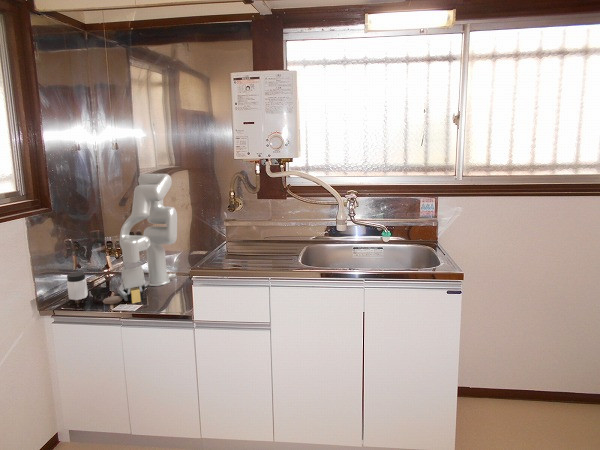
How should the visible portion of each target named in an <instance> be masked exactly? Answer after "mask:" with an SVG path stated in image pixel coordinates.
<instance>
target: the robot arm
mask: <svg viewBox="0 0 600 450" xmlns="http://www.w3.org/2000/svg"><path fill="white" fill-rule="evenodd" d="M137 181H138V185H137V186H135V188H134V189H133V190H134V191H133V199H132V208H131V214H130V216H128V218H127V219H126V220H125V221H124V223H123V225H122V226H121V228H120V233H119V246H120V249H121V252H122V253H121V254H122V263H123V267H122V268H121V284H120V286H119V287H118V291H119V290H121V291H124V292H125V293H127V298H128V302H130V303H132V299H131V294H130V289H131V288H134V287H137V288H138V289H139V290H140V298H141V297H142V298H143V291H144V289H146V287H147V286H151V287H160V286H161V287H162V286H165V285H167V284H170V282H171V278H176V277H177V274H176V273H175V272H174V273H168V272H167V259H166V257H167V256H166V250H165V248H164V246H163V245H173V244H175V243H176V242H177V239H178V213H177V210H176V208H175V207H174V206H165V205H164V198H165V197H166V195H167V194H168V192H169V190H170V189H171V187H172V185H173V183H172V181H173V180H172V177H171V175H169V174H168V173H143V174H140V175H138V179H137ZM145 220H147V222H148V223H149V224H153V225H158V226H149V227H145V229H144V230H143V235H137V234H136V235H135V234H134V235H133V234H131V235H130V232H131V230H132V228H133V227H134V226H135V225H137V224H138V223H140V222H142V221H145ZM159 225H166V226H159ZM143 251H146V258H147V267H148V268H147V269H148V270H147V271H148V272H147V273H148V280H146V279H145V274H144V269H143V266H142V264H144V260H140V259H141V258H140V252H143ZM142 298H141V299H142Z"/></svg>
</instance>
